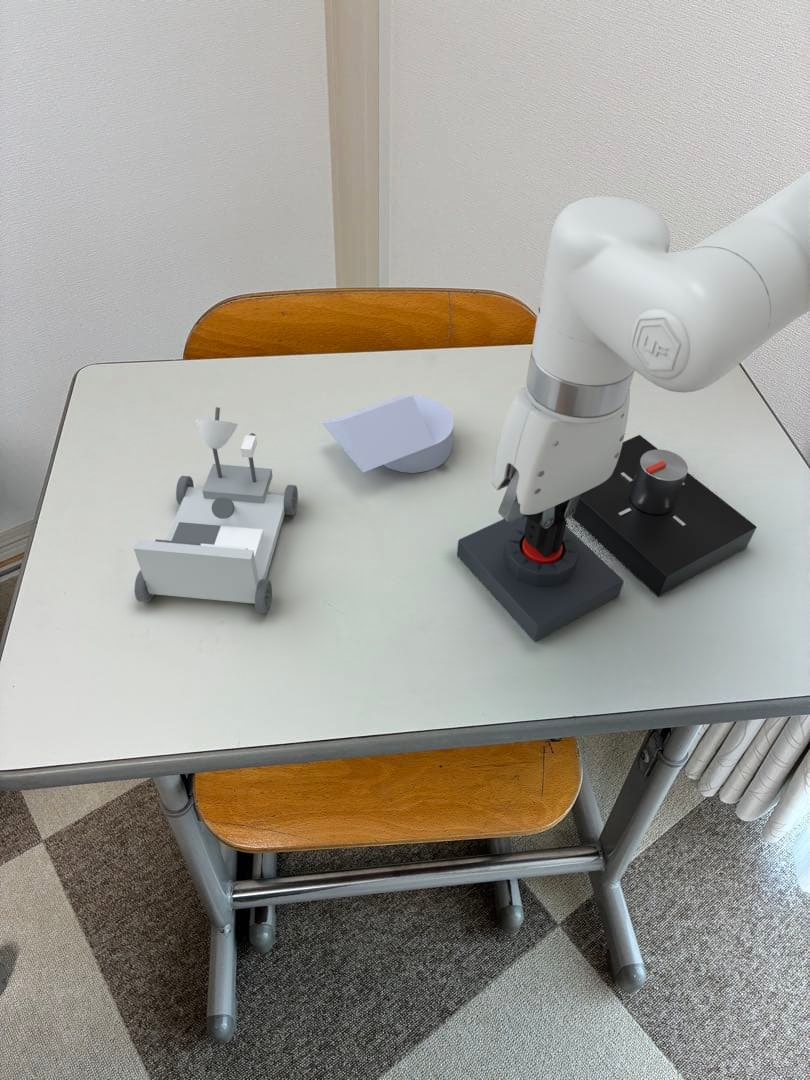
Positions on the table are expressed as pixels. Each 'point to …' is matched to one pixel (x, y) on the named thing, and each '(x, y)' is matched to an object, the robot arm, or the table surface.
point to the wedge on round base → (396, 434)
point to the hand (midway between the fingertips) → (541, 544)
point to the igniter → (538, 577)
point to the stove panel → (661, 526)
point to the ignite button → (536, 556)
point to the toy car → (218, 531)
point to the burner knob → (658, 481)
